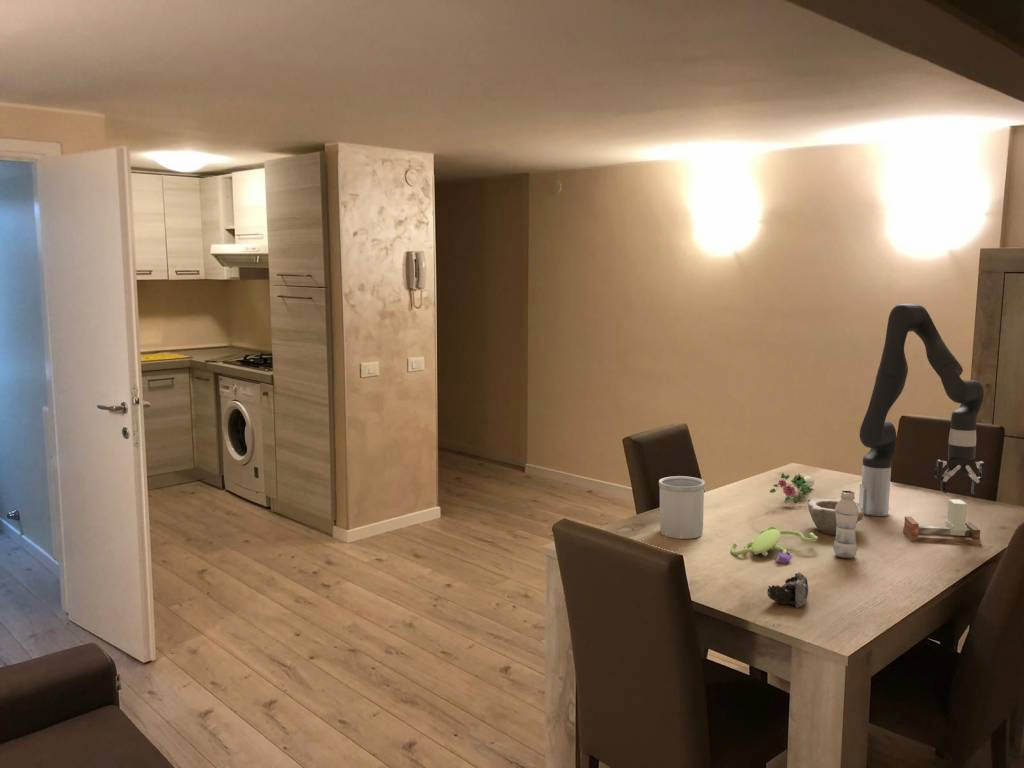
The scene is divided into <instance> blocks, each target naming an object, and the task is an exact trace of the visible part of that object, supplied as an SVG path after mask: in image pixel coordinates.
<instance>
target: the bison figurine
mask: <svg viewBox="0 0 1024 768" xmlns="http://www.w3.org/2000/svg"><path fill="white" fill-rule="evenodd" d="M784 583H785V584H783V585H779V584H778V585H773V584H772V585H768V586H767V587H768V588H767V593H766V594H767V597H768V598H769V599H770V600H772V601H774V602H776V603H779V604H782V605H792V606H795V608H798V609H799V608H800V607H803V606H804V605H805V604H806V602H807V599H808V595H809V584H808V580H807V577H806V576H805V575H804V574H803V573H802V572H800V571H798V572H797V573H795V574H794V576H791V577H790V578H789V577H788V578H786V579H785V581H784Z"/></svg>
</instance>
